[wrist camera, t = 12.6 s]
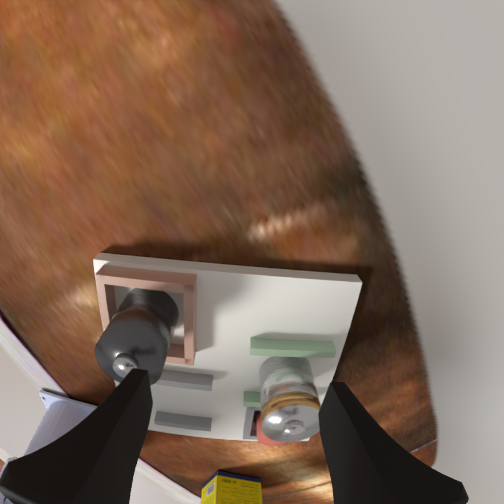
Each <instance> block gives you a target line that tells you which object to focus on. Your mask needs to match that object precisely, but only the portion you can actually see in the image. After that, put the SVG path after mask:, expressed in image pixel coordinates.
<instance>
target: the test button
mask: <svg viewBox="0 0 504 504" xmlns="http://www.w3.org/2000/svg"><path fill="white" fill-rule="evenodd" d="M256 425H257V439H258V441H259V442H260V443H262V444H264V445H268V446H279V445H284V444H286V443H288V442H278V441H274V440H272V439H270V438H268V437H267V436H265V435H264V433H263V431H262V425H261V411H260V410H258V411H257V413H256Z"/></svg>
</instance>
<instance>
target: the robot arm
mask: <svg viewBox="0 0 504 504" xmlns="http://www.w3.org/2000/svg"><path fill="white" fill-rule="evenodd" d="M39 395H40V397H41V399H42V401H43V403H44V405H45V407H46V409H47V412H46V413H45V415H44V417H43V419H42V421H41V423H40V425H39V426H38V428H37V430H36V432H35V434H34V436H33V438H32V440H31V442H30V444H29V446H28V448H27V450H26V452H25V454H24V456H23V457H20V458H17V457H14V458H8V460H7V461H6V463H5V465H4V466H3V468H2V470H1V472H0V504H129V500H130V493H131V487H132V481H133V476H134V471H135V468H136V464H137V461H138V458H139V455H140V451H141V448H142V445H143V442H144V439H145V436H146V433H147V430H148V426H149V422H150V417H151V412H152V407H153V399H152V393H151V387H150V381H149V374H148V370H144V369H137V368H133V369H131V370H130V372H129V373H128V374H127V375H126V376H125V378H124V379H123V380H122V381H121V382H120V383H119V385H118V386H117V387H116V388H115V389H114V390H113V391H112V392H111V393H110V394H109V395H108V397H107V398H106V399H105V400H104V401H103V402H102V403H101V404H100V405H99V406H95V405H91V404H87V403H84V402H80V401H76V400H73V399H69V398H66V397H62V396H59V395H56V394H53V393H50V392H47V391H43V390H40V391H39ZM318 417H319V427H320V435H321V440H322V444H323V448H324V452H325V456H326V460H327V464H328V468H329V472H330V476H331V482H332V488H333V497H334V504H466V503H467V502H468V499H469V498H468V495H467V493H466V491H465V488H464V486H463V484H462V482H459V481H457V480H455V479H453V478H450V477H448V476H446V475H444V474H442V473H440V472H438V471H436V470H434V469H432V468H431V467H429V466H427V465H426V464H424V463H423V462H421V461H420V460H418V459H417V458H415V457H414V456H413V455H411V454H410V453H409V452H407V451H406V450H405V449H404V448H402V447H401V446H400V445H399V444H398V443H397V442H395V441H394V440H393V439H392V438H391V437H390V436H389V435H388V434H387V433H386V432H385V431H384V430H383V429H382V428H381V427H380V426H379V424H378V423H377V422H376V421H375V420H374V419H373V418H372V417H371V415H370V414H369V413H368V412H367V411H366V409H365V408H364V407H363V406H362V404H361V403H360V402H359V401H358V399H357V398H356V397H355V396H354V394H353V393H352V392H351V390H350V389H349V388H348V387H347V385H346V384H345V383H344V382H331V383H330V384H329V386H328V389H327V392H326V395H325V397H324V400H323V403H322V405H321V408H320V410H319V413H318Z"/></svg>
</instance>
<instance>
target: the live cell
mask: <svg viewBox="0 0 504 504" xmlns="http://www.w3.org/2000/svg"><path fill="white" fill-rule="evenodd" d="M259 381H260V400H261V425H262V431H263V433H264V435H265V436H267V437H268V438H270V439H272V440H274V441H278V442H296V441H301V440H304V439H307V438H309V437H311V436H313V435H315V434H316V433H317V432H318V431H319V430H320V427H319V417H318V413H319V410H320V408H321V405H320V402H319V398H318V394H317V389H316V385H315V381H314V377H313V373H312V369H311V365H310V362H309V361H308V360H307V359H306V358H305V357H277V356H271V357H269V358H268V359H267V360H265V361H264V362H263V364H262V365H261V367H260V369H259Z"/></svg>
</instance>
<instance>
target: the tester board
mask: <svg viewBox="0 0 504 504" xmlns="http://www.w3.org/2000/svg"><path fill="white" fill-rule="evenodd" d="M93 261H94V270H95V279H96V287H97V294H98V301H99V307H100V313H101V319H102V325H103V330H104V331H105V329H106V327H107V326H108V324H109V323H110V321H111V319H112V318H113V316H114V314H115V313H116V311H117V310H118V308H119V307H120V305H121V303H122V302H123V300H124V299H125V297H126V296H127V294H128V293H129V292H130V291H131V290H132V289H134V288H141V289H149V290H158V291H164V292H166V293H167V294H168V295H169V296H170V297H171V298H172V299H173V300H174V302H175V303H176V305H177V308H178V311H179V319H178V322H177V326H176V329H175V332H174V335H173V338H172V341H171V345H170V348H169V351H168V354H167V358H166V361H165V364H164V367H163V371H162V374H161V377H160V379H159V380H158V381H157V382H156V383H155V384H153V385H151V386H150V387H151V393H152V399H153V407H152V412H151V417H150V422H149V426H148V430H153V431H159V432H166V433H172V434H179V435H187V436H196V437H205V438H216V439H229V440H247V441H258V439H257V425H256V413H257V411H258V410H260V411H261V400H260V381H259V369H260V367H261V365H262V364H263V362H264V361H265V360H267V359H268V358H269V357H271V356H277V357H305V358H306V359H307V360H308V361H309V362H310V365H311V369H312V373H313V377H314V381H315V385H316V389H317V394H318V398H319V402H320V405H322V403H323V400H324V397H325V395H326V392H327V389H328V386H329V384H330V383H331V382H332V379H333V376H334V373H335V370H336V368H337V365H338V362H339V359H340V356H341V353H342V350H343V347H344V344H345V341H346V337H347V334H348V331H349V328H350V325H351V321H352V318H353V315H354V311H355V308H356V304H357V301H358V297H359V294H360V290H361V286H362V281H361V280H360V278H359V277H358V275H354V274H340V273H327V272H314V271H301V270H288V269H276V268H263V267H251V266H239V265H228V264H216V263H205V262H193V261H182V260H171V259H161V258H150V257H140V256H129V255H119V254H109V253H99V254H98V255H97V256H96V257H95V258H94V259H93ZM114 381H115V385H116V387H117V386H118V385H119V382H117V381H116V380H114ZM309 438H310V437H309ZM309 438H307V439H304V440H301V441H308V440H309Z"/></svg>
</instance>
